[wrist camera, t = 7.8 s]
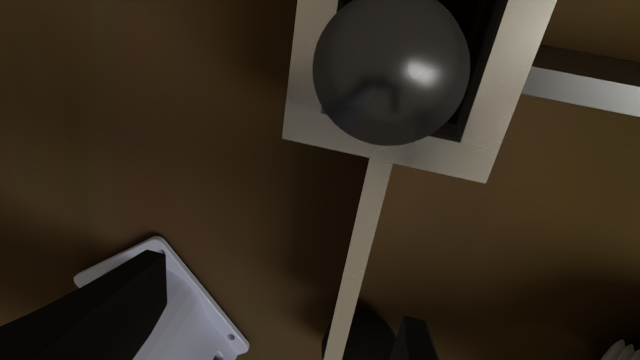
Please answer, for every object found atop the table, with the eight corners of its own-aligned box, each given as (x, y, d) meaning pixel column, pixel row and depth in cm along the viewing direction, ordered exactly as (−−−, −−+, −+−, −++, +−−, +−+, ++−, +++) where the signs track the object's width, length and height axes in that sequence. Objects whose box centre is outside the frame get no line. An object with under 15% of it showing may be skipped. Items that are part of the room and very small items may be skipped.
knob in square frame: (612, 363, 23) (659, 462, 18) (286, 280, 25) (257, 351, 20) (873, 3, 14) (1083, 25, 10) (338, -85, 16) (308, -100, 11)
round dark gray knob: (463, 45, 17) (495, 106, 10) (378, 89, 19) (357, 167, 12) (422, -47, 16) (428, -47, 9) (335, 8, 17) (284, 42, 11)
